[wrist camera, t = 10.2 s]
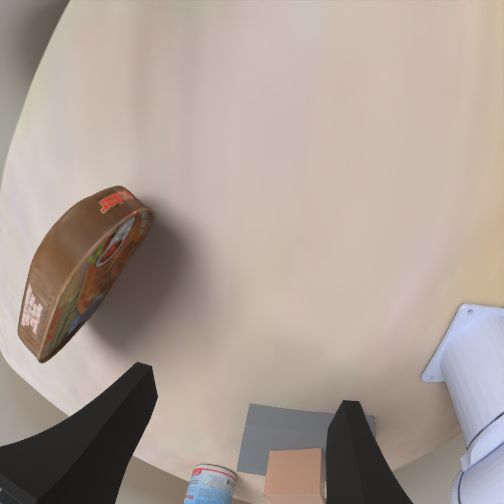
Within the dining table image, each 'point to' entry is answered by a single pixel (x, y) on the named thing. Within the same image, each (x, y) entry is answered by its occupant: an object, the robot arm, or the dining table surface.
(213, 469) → the pill bottle
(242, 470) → the gray block
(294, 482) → the terracotta cube
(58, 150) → the dining table surface
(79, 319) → the tin
